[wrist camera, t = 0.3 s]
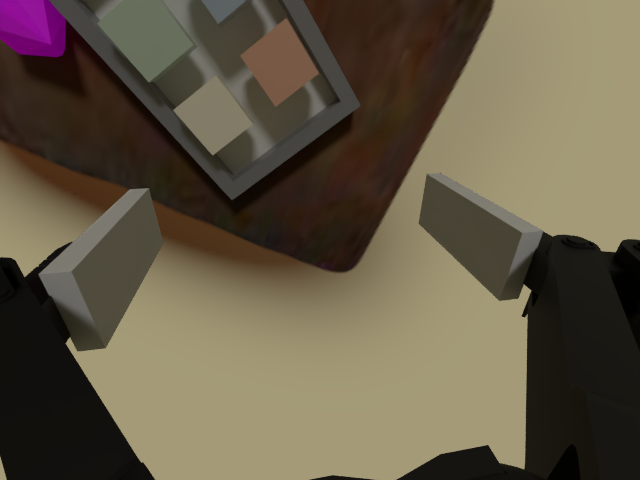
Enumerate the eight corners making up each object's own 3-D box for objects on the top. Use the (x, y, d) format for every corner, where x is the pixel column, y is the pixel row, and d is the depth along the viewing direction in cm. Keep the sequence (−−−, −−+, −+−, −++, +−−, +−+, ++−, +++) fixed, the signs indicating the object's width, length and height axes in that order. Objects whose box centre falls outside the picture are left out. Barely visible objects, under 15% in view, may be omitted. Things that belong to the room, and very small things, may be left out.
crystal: (57, -14, 28) (23, -28, 24) (82, 56, 31) (56, 54, 27) (-8, -12, 28) (-53, -26, 24) (24, 59, 30) (-12, 58, 26)
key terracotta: (241, 56, 31) (240, 55, 28) (284, 21, 30) (286, 17, 28) (274, 104, 33) (275, 106, 31) (314, 73, 32) (319, 73, 30)
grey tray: (49, -14, 28) (28, -22, 25) (205, -163, 26) (199, -189, 23) (233, 191, 40) (231, 200, 37) (353, 103, 37) (360, 105, 34)
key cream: (178, 107, 32) (172, 110, 30) (218, 74, 31) (215, 75, 29) (215, 149, 34) (212, 155, 32) (253, 120, 34) (253, 124, 31)
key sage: (109, 26, 28) (97, 23, 26) (153, -13, 27) (144, -20, 25) (156, 81, 30) (148, 82, 28) (197, 46, 30) (193, 45, 27)
